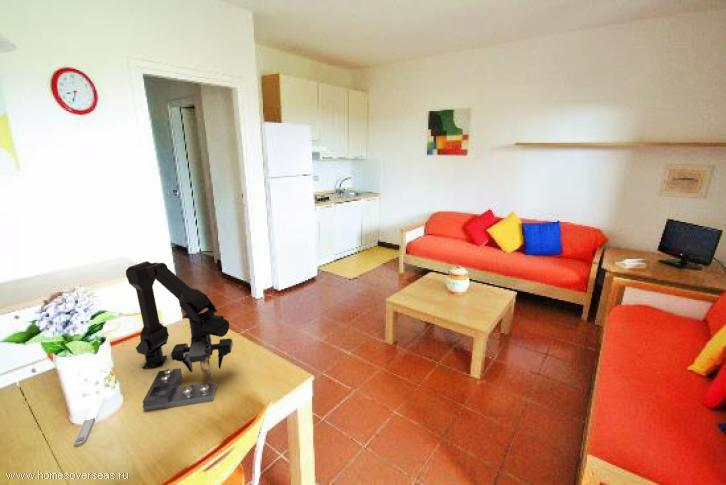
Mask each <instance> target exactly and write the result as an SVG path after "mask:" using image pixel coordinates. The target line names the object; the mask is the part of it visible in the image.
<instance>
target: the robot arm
mask: <svg viewBox="0 0 726 485" xmlns="http://www.w3.org/2000/svg"><path fill="white" fill-rule="evenodd" d="M125 276H126V278H127V280H128V284H129V285H131V286H132V287H133V288H134V289H135V290H136V291H135V292H136V296H137V301H138V306H139V311H140V315H141V321H142V324H143V325H142V326H143V327H142V330H141V332H140V334H139V336H140V339H139V340H140V342H139V343H138V344H137V345H136V347H135V350H136V352H137V354H140V355H142V356H144V358H145V362H144V364H143V366H142V369H144V370H145V369H150V368H157V367H158V368H159V367H163V365H164V363H165V361H166V360H167V358H168V356H167V355H164V353H163V349H162V348H163V346H166V345H167V344H168V340H169V336H170V334H169V332H168V327H167V326H166V325H165V326H164V325H163V324H162V323H160V318H159V313H158V308H157V304H156V298H155V292H154V288H153V287H154V284H155V281H157V282H158V283H160V284H161V285H162V286H163V287H164V288H165V289H166V290H168V291H169V292H170V294H172V295H173V296H174V297H175V298H176V299H177V300H178V303H179V307H180V308H181V310H183V311H184V313H185V315H184V316H183V318H184V319H187V320H188V321H189V328H190V329H189V330H190V334H191V336H190V337H191V338H190V346H189V344H188V343H186V342H184V343H177V344H175V346H173V348H172V350H171V353H170V358H171V361H176V362H182V363H183V365H185V367H186V368H187V369H188V372H190V374H192V373H193V371H194V369H193V368H194V366H193V363H198V362H199V361H201V362H202V361H205V360H206V358H207V357H209V356H210V355H211V356H213V351H216V350H217V351H218V352H217V354H218V355H217V357H218V363H217V364H218V369H219V370H220V369H221V367H222V362H223V359H224V356H227V355H228V354H230V353H232V349H233V346H234V345H233V344H234V343H233V339H232V338H222V337H224V336H226V335H227V334H228V332H229V330H230V322H229V321H228V320H227V319H225V318H224V315H218V314H215V313H217V312H218V310H217V308H216V306H215V305H214V303H213V302H212V301H211V300H210V298H209V296H208V295H207V294H205V293H204V292H202V291H200V290H199V289H197V288H192V287H190V286H189V285H187V284H186V282H184V281H183V280H182V279H181V278H180V277H179V276H177V275H176V274H175V273H174V272H173V271H171V270H170V269H169V268H168V265H167V264H166V263H164V262H150V261H149V260H148V261H143V262H139V263H136V264H134V265H130V266H129V267H127V269H125ZM204 310H205V311H204ZM203 311H204V312H203ZM211 336H216V337H219V338H221V339H219V342H218V343H212V337H211ZM199 363H200V362H199Z"/></svg>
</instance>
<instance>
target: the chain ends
mask: <svg viewBox="0 0 726 485" xmlns="http://www.w3.org/2000/svg"><path fill="white" fill-rule="evenodd" d="M182 382H183V373H182V368H174V369H173V368H167V369H166V370H159V371H158V372H157V374H156V376H155V377H154V380H153V381H152V384H150V387H149V389H148V391H147V392H146V395H145V396H144V398H143V399H142V409H143V410H142V411H143V412H148V411H152V410H153V411H154V410H161V409H167V408H168V409H169V408H174V407H182V406H186V405H194V404H200V403H201V404H202V403H208V402H213V401H214V397H215V395H216V390H217V388H218V387H217V382H216V381H211V382H203V383H197V384H190V385H183V386H182V385H181V383H182Z"/></svg>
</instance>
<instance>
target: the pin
mask: <svg viewBox="0 0 726 485" xmlns="http://www.w3.org/2000/svg"><path fill="white" fill-rule="evenodd" d="M211 356H212V355H210V356H209V357H207V358H206V360H205V361H202V362H201V361H199V364H200V371H201V378H202V381H203V382H208V381H210V380H211V379H212V378H213V376H212V368H211V360H210V359H211Z"/></svg>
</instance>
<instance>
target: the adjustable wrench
mask: <svg viewBox="0 0 726 485" xmlns="http://www.w3.org/2000/svg"><path fill="white" fill-rule="evenodd" d="M95 421H96V420H95V418H93V419H90V420H85V419H84V421H83V422H82V424H81V427H80V429H79V431H78V433H77V435H76V437H75V439H74V441H73V444H74V447H76V448H78V447H81V446H83V445H85V444H86V443H87V442H88V438H89V436H90V434H91V432H92V430H93V426H94V424H95Z"/></svg>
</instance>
